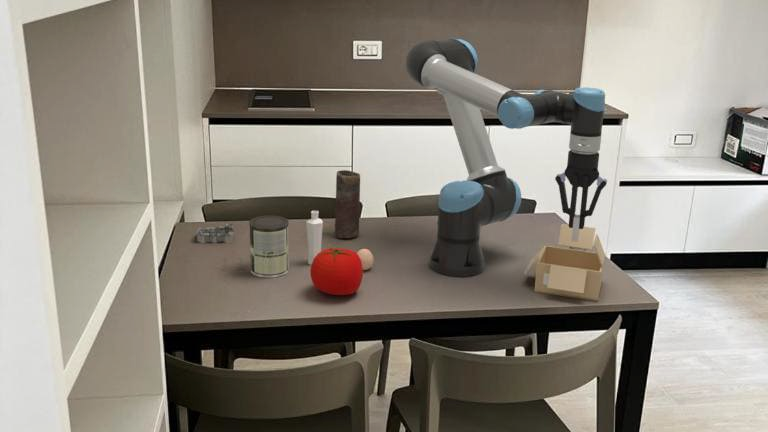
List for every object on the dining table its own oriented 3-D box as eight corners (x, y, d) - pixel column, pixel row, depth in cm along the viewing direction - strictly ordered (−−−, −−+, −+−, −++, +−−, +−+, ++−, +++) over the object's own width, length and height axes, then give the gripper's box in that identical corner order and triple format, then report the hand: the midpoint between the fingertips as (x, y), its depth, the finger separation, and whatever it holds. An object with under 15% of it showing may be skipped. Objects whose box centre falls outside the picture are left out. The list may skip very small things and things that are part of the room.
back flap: (558, 244, 214) (561, 223, 216) (558, 244, 215) (561, 224, 216) (592, 249, 211) (595, 228, 213) (592, 249, 212) (595, 228, 213)
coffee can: (242, 270, 213) (241, 220, 209) (273, 260, 220) (272, 212, 216) (265, 281, 207) (264, 230, 202) (296, 271, 213) (296, 222, 209)
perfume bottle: (326, 263, 220) (327, 211, 215) (315, 267, 217) (315, 215, 212) (315, 258, 223) (315, 208, 218) (303, 262, 220) (303, 211, 215)
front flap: (550, 264, 202) (547, 287, 200) (550, 264, 201) (547, 287, 200) (587, 270, 199) (583, 293, 198) (587, 269, 199) (583, 293, 197)
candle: (345, 230, 246) (346, 168, 240) (364, 235, 242) (365, 172, 236) (329, 236, 240) (330, 173, 234) (348, 242, 236) (349, 177, 230)
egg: (355, 273, 214) (356, 252, 212) (353, 266, 218) (354, 246, 217) (374, 272, 214) (375, 252, 213) (371, 265, 219) (372, 245, 217)
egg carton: (234, 235, 240) (234, 223, 238) (232, 244, 233) (231, 231, 231) (199, 235, 239) (198, 222, 237) (195, 244, 232) (194, 230, 230)
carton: (534, 291, 205) (537, 263, 203) (542, 272, 218) (544, 245, 215) (597, 301, 200) (601, 272, 198) (601, 281, 213) (605, 253, 211)
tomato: (368, 284, 206) (369, 242, 203) (354, 305, 194) (355, 261, 190) (320, 279, 209) (321, 237, 205) (304, 299, 196) (304, 255, 193)
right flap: (601, 265, 201) (593, 244, 200) (603, 255, 208) (596, 234, 207) (602, 265, 200) (594, 243, 200) (605, 254, 208) (597, 234, 207)
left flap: (538, 258, 206) (525, 275, 208) (543, 248, 213) (529, 264, 215) (537, 257, 206) (523, 274, 208) (542, 247, 213) (528, 263, 215)
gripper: (555, 151, 196) (547, 241, 203) (610, 156, 192) (599, 247, 200) (559, 145, 203) (551, 232, 210) (612, 150, 199) (601, 238, 206)
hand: (574, 239), depth 205 cm, fingers closed
